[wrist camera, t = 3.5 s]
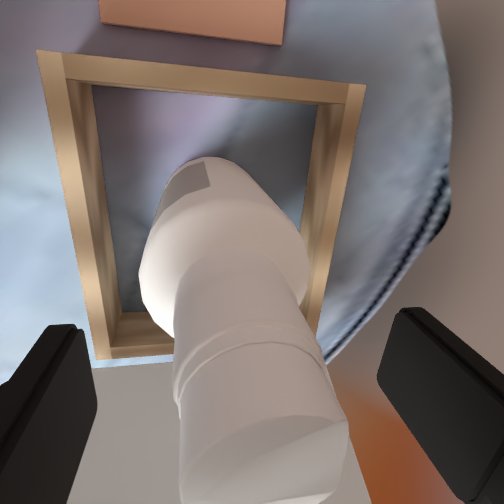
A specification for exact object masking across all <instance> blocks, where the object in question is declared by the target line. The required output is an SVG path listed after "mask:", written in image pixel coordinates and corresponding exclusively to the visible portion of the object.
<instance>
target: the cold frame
mask: <svg viewBox="0 0 504 504" xmlns="http://www.w3.org/2000/svg"><path fill="white" fill-rule="evenodd" d="M36 53H37V58H38V64H39V69H40V74H41V79H42V84H43V89H44V94H45V99H46V105H47V110H48V115H49V120H50V125H51V130H52V135H53V140H54V145H55V151H56V156H57V161H58V166H59V171H60V176H61V181H62V186H63V192H64V197H65V202H66V207H67V212H68V217H69V222H70V227H71V233H72V238H73V243H74V248H75V253H76V258H77V263H78V268H79V273H80V279H81V284H82V289H83V294H84V299H85V304H86V309H87V314H88V320H89V325H90V330H91V335H92V340H93V345H94V350H95V355H96V360H105V359H117V358H130V357H143V356H155V355H168V354H174V343H175V341H174V338H173V337H171V336H170V335H169V334H168V333H167V332H166V331H164V330H163V329H162V328H161V327H160V326H159V325H158V324H156V323H155V322H154V320H153V319H152V317H151V315H150V313H149V312H148V311H142V312H122V308H121V301H120V293H119V286H118V278H117V271H116V264H115V256H114V249H113V242H112V234H111V227H110V219H109V212H108V205H107V197H106V190H105V183H104V175H103V168H102V160H101V153H100V146H99V138H98V131H97V124H96V116H95V109H94V102H93V94H92V87H91V85H97V86H109V87H120V88H131V89H142V90H154V91H165V92H176V93H187V94H199V95H210V96H221V97H232V98H244V99H255V100H266V101H277V102H288V103H300V104H311V105H318V110H317V116H316V123H315V130H314V137H313V144H312V150H311V157H310V164H309V171H308V178H307V184H306V191H305V198H304V205H303V212H302V219H301V225H300V232H299V233H300V235H301V236H302V238H303V239H304V241H305V244H306V249H307V253H308V258H309V263H310V267H311V268H310V275H309V283H308V290H307V292H306V294H305V296H304V298H303V300H302V302H301V304H300V306H299V309H300V311H301V312H302V314H303V316H304V318H305V320H306V321H307V323H308V325H309V327H310V329H311V331H312V332H313V334H314V336H315V337H316V332H317V327H318V322H319V317H320V312H321V307H322V302H323V297H324V292H325V287H326V282H327V277H328V273H329V268H330V263H331V258H332V253H333V248H334V243H335V238H336V233H337V228H338V223H339V218H340V213H341V208H342V203H343V198H344V193H345V189H346V184H347V179H348V174H349V169H350V164H351V159H352V154H353V149H354V144H355V139H356V134H357V129H358V124H359V119H360V114H361V110H362V105H363V100H364V95H365V90H366V85H363V84H353V83H344V82H335V81H325V80H316V79H307V78H297V77H288V76H279V75H269V74H260V73H251V72H241V71H232V70H222V69H213V68H204V67H194V66H185V65H176V64H166V63H157V62H148V61H138V60H129V59H120V58H110V57H101V56H92V55H82V54H73V53H64V52H54V51H45V50H36Z"/></svg>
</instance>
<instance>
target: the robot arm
mask: <svg viewBox="0 0 504 504" xmlns="http://www.w3.org/2000/svg"><path fill="white" fill-rule="evenodd" d="M377 381H378V384H379V386H380V388H381V389H382V391H383V392H384V393H385V395H386V396H387V398H388V399H389V401H390V402H391V404H392V405H393V406H394V408H395V409H396V411H397V412H398V413H399V415H400V417H401V418H402V419H403V421H404V422H405V424H406V425H407V427H408V428H409V430H410V431H411V433H412V434H413V435H414V437H415V438H416V440H417V441H418V443H419V444H420V445H421V447H422V448H423V450H424V451H425V453H426V454H427V455H428V457H429V459H430V460H431V461H432V463H433V464H434V466H435V467H436V469H437V470H438V472H439V473H440V474H441V476H442V477H443V479H444V480H445V482H446V483H447V485H448V486H449V487H450V489H451V490H452V492H453V493H454V494H455V496H456V497H457V498H458V499H460V500H462V501H463V502H464V503H465V504H504V374H502V373H501V372H500V371H499V370H498V369H496V368H495V367H494V366H493V365H491V364H490V363H489V362H488V361H487V360H485V359H484V358H483V357H482V356H481V355H479V354H478V353H477V352H476V351H475V350H473V349H472V348H471V347H470V346H469V345H467V344H466V343H465V342H464V341H462V340H461V339H460V338H459V337H458V336H456V335H455V334H454V333H453V332H452V331H450V330H449V329H448V328H447V327H445V326H444V325H443V324H442V323H441V322H440V321H438V320H437V319H436V318H435V317H433V316H432V315H431V314H430V313H429V312H427V311H426V310H425V309H423V308H421V307H409V308H402V309H401V310H400V311H399V313H397V314H396V315H395V318H394V321H393V324H392V328H391V331H390V334H389V337H388V340H387V344H386V347H385V350H384V353H383V356H382V360H381V363H380V366H379V369H378V373H377ZM97 406H98V401H97V395H96V390H95V385H94V380H93V375H92V370H91V365H90V360H89V354H88V349H87V344H86V339H85V334H84V331H83V329H77V327H76V325H75V324H60V325H49V326H48V327H47V328H46V329H45V330H44V332H43V333H42V334H41V336H40V337H39V339H38V340H37V341H36V343H35V344H34V346H33V347H32V348H31V350H30V351H29V353H28V354H27V355H26V357H25V358H24V360H23V361H22V362H21V364H20V365H19V367H18V368H17V370H16V371H15V372H14V374H13V375H12V377H11V378H10V379H9V381H7V382H5V383H3V384H1V386H0V504H67V501H68V498H69V495H70V492H71V489H72V486H73V483H74V480H75V477H76V474H77V471H78V468H79V465H80V462H81V459H82V456H83V453H84V450H85V447H86V444H87V441H88V438H89V435H90V432H91V429H92V426H93V423H94V420H95V417H96V413H97Z"/></svg>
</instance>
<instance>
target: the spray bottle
mask: <svg viewBox="0 0 504 504" xmlns="http://www.w3.org/2000/svg"><path fill="white" fill-rule="evenodd" d="M310 268H311V267H310V263H309V258H308V253H307V249H306V244H305V241H304V239H303V238H302V236H301V235H300V233H299V232H298V230H297V229H296V227H295V226H294V224H293V222H292V221H291V220H290V219H289V218H288V217H287V216H286V215H285V213H284V212H283V211H282V210H281V209H280V208H279V207H278V206H277V205H276V204H275V203H274V201H273V200H272V199H271V198H270V197H269V196H268V195H267V194H266V193H265V192H264V191H263V190H262V188H261V187H260V186H259V185H258V184H257V183H256V182H255V181H254V180H253V179H252V178H251V176H250V175H249V174H248V173H247V172H246V171H245V170H243V169H242V168H241V167H239V166H238V165H237V164H235V163H234V162H231V161H229V160H226V159H223V158H220V157H201V158H198V159H195V160H192V161H189V162H187V163H185V164H184V165H183V166H181V167H180V168H179V169H177V170H176V171H175V172H174V173H173V175H172V176H171V178H170V179H169V181H168V182H167V184H166V186H165V189H164V191H163V194H162V197H161V200H160V203H159V206H158V209H157V212H156V215H155V218H154V221H153V224H152V227H151V230H150V233H149V236H148V239H147V242H146V245H145V248H144V253H143V257H142V261H141V265H140V269H139V273H138V274H139V281H140V288H141V295H142V300H143V303H144V304H145V306H146V308H147V310H148V312H149V313H150V315H151V317H152V319H153V320H154V322H155V323H156V324H158V325H159V326H160V327H161V328H162V329H163V330H164V331H166V332H167V333H168V334H169V335H170V336H171V337H173V338H174V341H175V343H174V357H173V372H172V389H173V398H174V401H175V403H176V405H177V406H178V411H179V418H180V420H181V422H180V453H179V490H180V499H181V502H182V504H318V503H320V502H321V501H323V500H325V499H326V498H327V497H328V496H330V495H331V494H332V493H333V492H335V490H336V489H337V488H338V485H339V482H340V479H341V473H342V467H343V462H344V458H345V456H346V454H347V445H348V436H349V427H348V420H347V419H346V416H345V414H344V413H343V410H342V408H341V407H340V405H339V403H338V401H337V399H336V397H335V395H334V393H333V391H332V389H331V387H330V385H329V383H328V381H327V378H326V374H325V370H324V359H323V355H322V351H321V347H320V345H319V343H318V341H317V340H316V338H315V336H314V334H313V332H312V331H311V329H310V327H309V325H308V323H307V321H306V320H305V318H304V316H303V314H302V312H301V311H300V309H299V306H300V304H301V302H302V300H303V298H304V296H305V294H306V292H307V290H308V283H309V275H310Z"/></svg>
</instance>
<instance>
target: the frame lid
mask: <svg viewBox="0 0 504 504" xmlns="http://www.w3.org/2000/svg"><path fill="white" fill-rule="evenodd" d="M323 359H324V358H323ZM91 370H92V375H93V380H94V385H95V390H96V395H97V401H98V406H97V413H96V417H95V420H94V423H93V426H92V429H91V432H90V435H89V438H88V441H87V444H86V447H85V450H84V453H83V456H82V459H81V462H80V465H79V468H78V471H77V474H76V477H75V480H74V483H73V486H72V489H71V492H70V495H69V498H68V501H67V504H182V502H181V499H180V490H179V453H180V422H181V420H180V418H179V411H178V406H177V405H176V403H175V401H174V398H173V389H172V372H173V362H166V363H154V364H142V365H130V366H118V367H106V368H94V369H91ZM324 370H325V374H326V378H327V381H328V383H329V385H330V387H331V389H332V391H333V393H334V395H335V391H334V389H333V385H332V382H331V380H330V377H329V373H328V371H327V367H326V364H325V361H324ZM335 397H336V395H335ZM336 399H337V398H336ZM318 504H371V500H370V497H369V494H368V491H367V488H366V485H365V482H364V479H363V476H362V473H361V470H360V467H359V464H358V461H357V458H356V455H355V453H354V449H353V446H352V443H351V440H350V437H349V436H348V445H347V454H346V456H345V458H344V462H343V467H342V473H341V479H340V482H339V485H338V488H337V489H336V490H335V492H333V493H332V494H331V495H330V496H328V497H327V498H326V499H325V500H323V501H321V502H320V503H318Z"/></svg>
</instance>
